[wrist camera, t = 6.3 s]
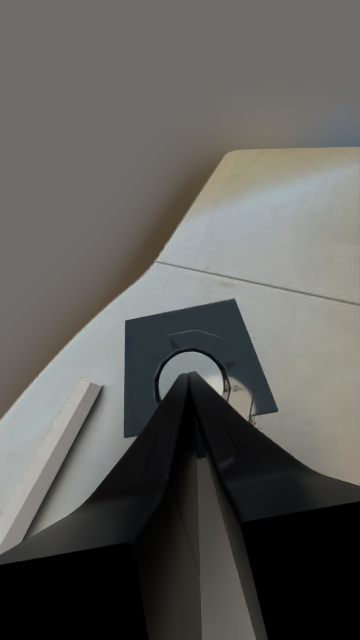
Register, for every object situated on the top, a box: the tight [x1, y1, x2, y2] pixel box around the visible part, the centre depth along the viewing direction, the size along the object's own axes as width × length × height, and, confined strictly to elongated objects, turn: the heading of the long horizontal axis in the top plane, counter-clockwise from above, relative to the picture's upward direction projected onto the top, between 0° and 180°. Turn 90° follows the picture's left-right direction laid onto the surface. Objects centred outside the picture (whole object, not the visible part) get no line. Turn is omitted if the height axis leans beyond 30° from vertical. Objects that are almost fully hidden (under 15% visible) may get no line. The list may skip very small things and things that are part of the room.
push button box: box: [124, 299, 278, 459], centre depth 13 cm, size 9×9×8 cm
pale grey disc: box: [159, 352, 224, 419], centre depth 10 cm, size 3×3×2 cm
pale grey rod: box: [0, 378, 103, 554], centre depth 14 cm, size 3×2×16 cm
